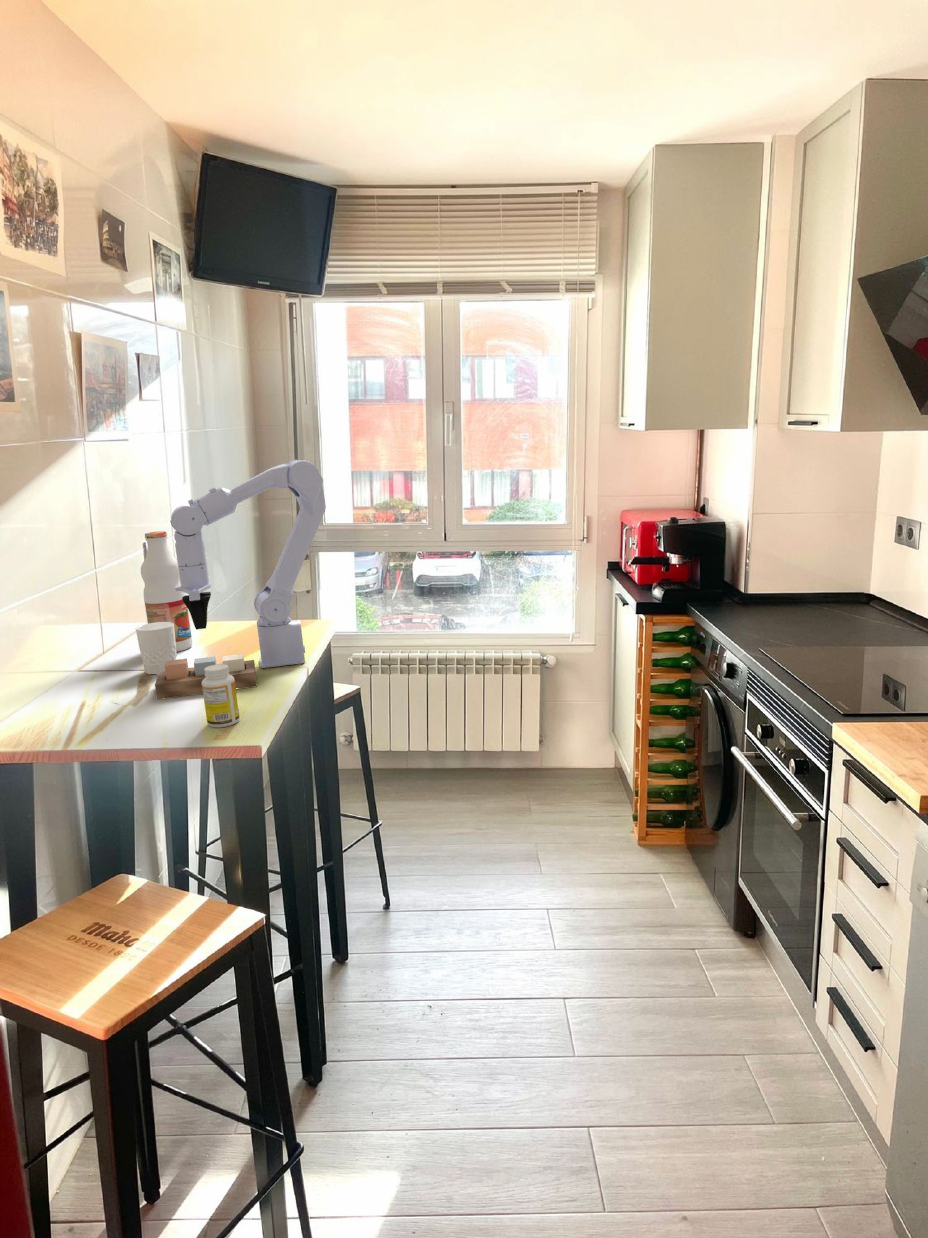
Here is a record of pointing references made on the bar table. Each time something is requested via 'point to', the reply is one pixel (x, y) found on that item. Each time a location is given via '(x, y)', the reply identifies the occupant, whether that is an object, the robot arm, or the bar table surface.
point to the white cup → (156, 645)
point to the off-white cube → (234, 662)
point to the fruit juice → (164, 589)
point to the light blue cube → (203, 664)
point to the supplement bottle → (220, 696)
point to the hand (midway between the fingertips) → (201, 628)
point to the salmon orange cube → (176, 669)
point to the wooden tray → (200, 682)
